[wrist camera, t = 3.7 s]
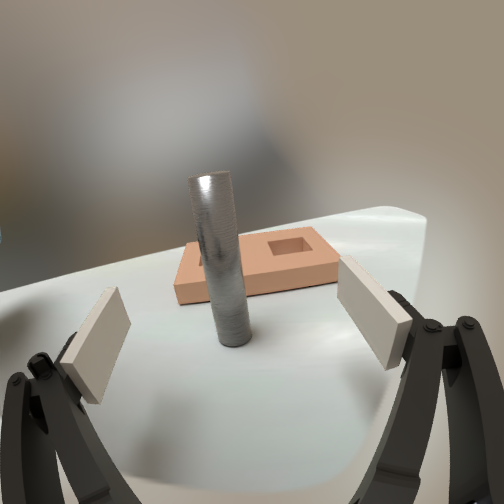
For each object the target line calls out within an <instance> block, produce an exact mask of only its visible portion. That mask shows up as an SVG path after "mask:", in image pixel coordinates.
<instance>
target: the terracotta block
mask: <svg viewBox="0 0 504 504" xmlns="http://www.w3.org/2000/svg"><path fill="white" fill-rule="evenodd" d="M238 238H239V245H240V253H241V260H242V268H243V275H244V283H245V290H246V296H249V295H256V294H262V293H269V292H276V291H282V290H288V289H295V288H301V287H307V286H313V285H318V284H324V283H330V282H335V281H338V268H339V257H341V256H340V255H339V254H338V253H337V252H336V251H335V250H334V249H333V248H332V247H331V246H330V245H329V244H328V243H327V242H326V241H325V240H324V239H323V238H322V237H321V236H320V235H319V234H318V233H317V232H316V231H315V230H314V229H313V228H312V227H303V228H295V229H287V230H279V231H271V232H264V233H256V234H249V235H241V236H238ZM174 289H175V292H176V296H177V300H178V303H179V304H187V303H195V302H203V301H210V298H209V294H208V289H207V284H206V279H205V274H204V269H203V264H202V259H201V254H200V249H199V243H198V242H192V243H187V245H186V247H185V250H184V253H183V256H182V260H181V263H180V266H179V269H178V272H177V275H176V279H175V282H174Z"/></svg>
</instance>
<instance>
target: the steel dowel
mask: <svg viewBox="0 0 504 504" xmlns="http://www.w3.org/2000/svg"><path fill="white" fill-rule="evenodd" d="M230 175H231V174H230V171H217V172H210V173H203V174H198V175H194V176H190V177H188V184H189V190H190V197H191V203H192V208H193V215H194V221H195V226H196V231H197V238H198V243H199V249H200V254H201V259H202V264H203V269H204V274H205V279H206V284H207V289H208V294H209V298H210V303H211V308H212V312H213V317H214V321H215V326H216V330H217V334H218V339H219V341H220V342H221V343H222V344H224V345H226V346H239V345H242V344H244V343H246V342H247V341H248V340H249V339H250V338H251V335H252V334H251V326H250V319H249V312H248V305H247V297H246V290H245V283H244V275H243V268H242V260H241V253H240V245H239V238H238V230H237V222H236V214H235V207H234V199H233V191H232V183H231V176H230Z"/></svg>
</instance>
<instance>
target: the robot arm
mask: <svg viewBox="0 0 504 504" xmlns="http://www.w3.org/2000/svg"><path fill="white" fill-rule="evenodd" d="M0 242H1V231H0ZM337 298H338V299H339V301H340V302H341V304H342V305H343V307H344V308H345V310H346V311H347V312H348V314H349V315H350V317H351V318H352V320H353V321H354V323H355V324H356V326H357V327H358V329H359V331H360V332H361V334H362V335H363V337H364V338H365V340H366V341H367V343H368V344H369V346H370V347H371V349H372V351H373V352H374V354H375V355H376V357H377V358H378V360H379V362H380V363H381V365H382V366H383V368H384V370H385V371H386V370H389V369H392V368H394V367H397V366H399V364H400V361H401V358H402V357H403V359H404V360H405V361H406V364H405V367H404V369H403V372H402V375H401V382H400V385H399V388H398V392H397V395H396V398H395V401H394V405H393V407H392V411H391V414H390V416H389V419H388V422H387V425H386V427H385V430H384V433H383V435H382V438H381V440H380V443H379V445H378V447H377V450H376V452H375V454H374V457H373V459H372V461H371V463H370V466H369V468H368V470H367V472H366V474H365V476H364V478H363V480H362V482H361V484H360V486H359V488H358V490H357V491H356V493H355V495H354V496H353V498H352V499H351V501H350V503H349V504H413V502H414V500H415V497H416V495H417V492H418V489H419V486H420V480H421V479H420V477H419V471H420V468H421V465H422V462H423V459H424V455H425V451H426V448H427V444H428V441H429V437H430V432H431V428H432V424H433V418H434V414H435V409H436V404H437V398H438V391H439V385H440V377H441V370H442V376H443V382H444V388H445V396H446V404H447V413H448V424H449V440H450V485H449V504H504V390H503V386H502V383H501V380H500V376H499V373H498V370H497V367H496V364H495V362H494V359H493V356H492V353H491V350H490V348H489V346H488V343H487V340H486V338H485V335H484V333H483V330H482V328H481V326H480V324H479V322H478V321H477V320H476V319H474V318H473V317H470V316H462V317H460V318H458V320H457V322H456V325H455V326H447V327H443V325H442V324H441V323H440V322H438V321H436V320H433V319H424V317H422V315H421V314H420V313H419V312H418V311H417V310H416V309H415V308H414V307H413V306H412V305H410V303H409V302H408V301H406V299H405V298H404V297H403V296H402V295H401V294H399V293H397V292H395V291H393V290H391V291H386V290H385V289H384V288H383V287H382V286H381V285H380V284H379V283H378V282H377V281H376V280H375V279H374V278H373V277H372V276H371V275H370V274H369V273H368V272H367V271H366V270H365V269H364V268H363V267H362V266H361V265H360V264H359V263H358V262H357V261H356V260H355V259H354V258H353V257H352V256H351V255H349V256H342V257H339V268H338V291H337ZM130 326H131V323H130V320H129V317H128V315H127V312H126V310H125V307H124V304H123V302H122V299H121V296H120V293H119V290H118V287H110V288H106V289H105V291H104V292H103V294H102V295H101V297H100V298H99V300H98V301H97V303H96V304H95V306H94V307H93V309H92V310H91V312H90V313H89V315H88V316H87V318H86V319H85V321H84V323H83V324H82V326H81V327H80V329H79V331H78V332H75V333H74V334H73V335H72V336H71V337H69V339H68V341H67V342H66V345H65V346H64V347H63V350H61V352H60V354H59V356H58V357H57V359H56V361H55V362H54V364H53V362H52V360H51V359H50V357H49V356H48V354H47V353H45V352H41V353H38V354H36V355H34V356H33V357H32V358H31V359H30V360H29V362H28V364H27V367H28V369H29V370H30V372H31V373H32V375H33V376H34V377H35V378H33V379H28V378H27V377H26V376H25V374H24V373H22V372H17V373H15V374H13V375H12V376H11V377H10V379H9V380H8V383H7V388H6V394H5V400H4V407H3V416H2V426H1V442H0V478H1V492H2V501H3V504H65V502H64V498H63V493H62V489H61V483H60V478H59V472H58V466H57V459H56V452H57V454H58V457H59V460H60V462H61V464H62V467H63V469H64V472H65V474H66V476H67V478H68V481H69V483H70V485H71V487H72V489H73V491H74V493H75V495H76V497H77V499H78V502H79V504H142V503H141V502H140V501H139V499H138V498H137V497H136V495H135V494H134V493H133V491H132V490H131V488H130V487H129V486H128V484H127V483H126V481H125V480H124V478H123V477H122V475H121V474H120V472H119V471H118V469H117V468H116V466H115V464H114V463H113V461H112V460H111V458H110V456H109V455H108V453H107V451H106V450H105V448H104V446H103V444H102V442H101V441H100V439H99V437H98V435H97V433H96V431H95V429H94V427H93V426H92V424H91V422H90V419H89V417H88V415H87V413H86V411H85V409H84V407H83V405H82V404H81V402H80V399H81V396H83V398H84V399H85V400H86V402H87V403H90V404H101V401H102V398H103V395H104V392H105V389H106V386H107V384H108V381H109V378H110V376H111V373H112V370H113V368H114V365H115V362H116V360H117V357H118V355H119V352H120V350H121V347H122V345H123V342H124V340H125V337H126V335H127V333H128V330H129V328H130ZM29 414H30V415H29ZM55 449H56V451H55Z"/></svg>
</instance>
